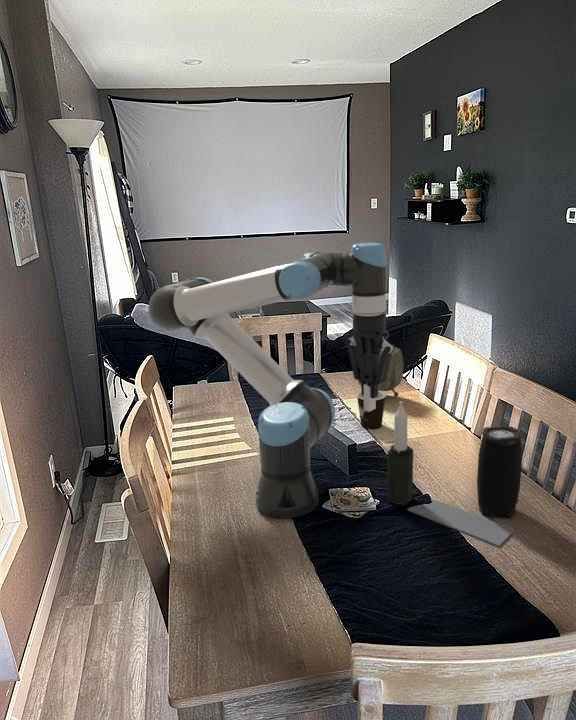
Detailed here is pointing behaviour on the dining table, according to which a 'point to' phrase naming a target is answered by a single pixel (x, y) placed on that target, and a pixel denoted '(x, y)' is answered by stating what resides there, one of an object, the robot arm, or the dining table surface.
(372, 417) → the coffee mug
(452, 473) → the dining table surface
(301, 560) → the dining table surface
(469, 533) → the candle mat
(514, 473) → the portable speaker
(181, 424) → the dining table surface
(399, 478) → the candle
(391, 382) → the tabletop clock
